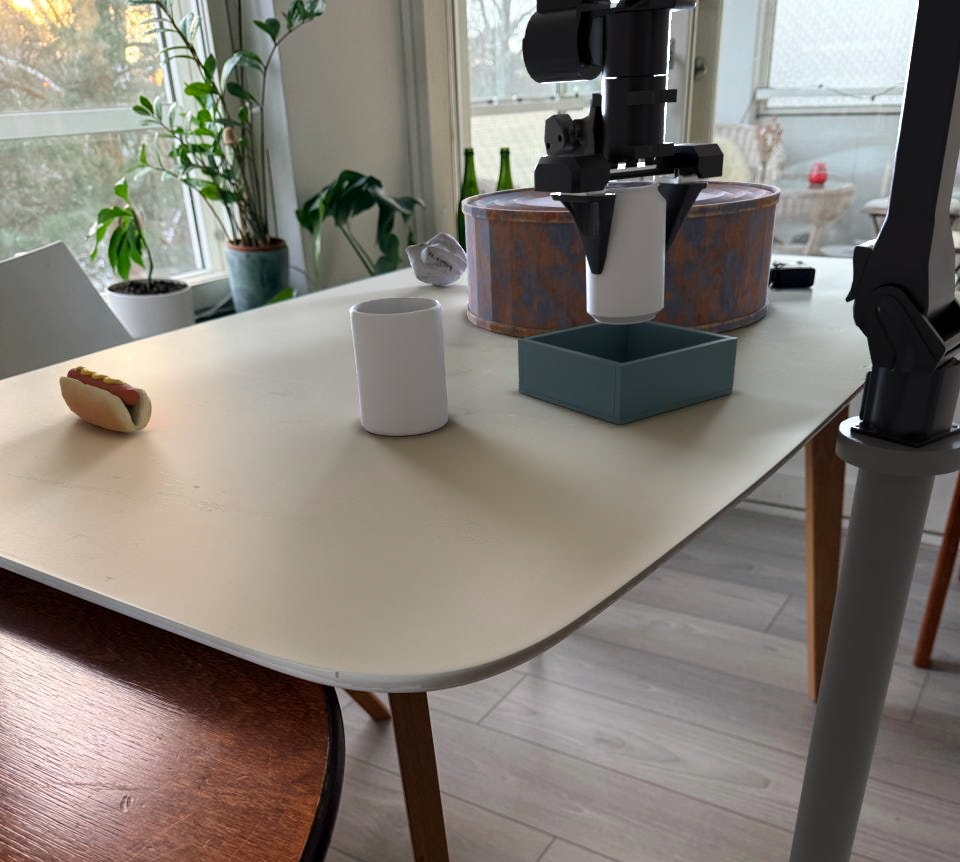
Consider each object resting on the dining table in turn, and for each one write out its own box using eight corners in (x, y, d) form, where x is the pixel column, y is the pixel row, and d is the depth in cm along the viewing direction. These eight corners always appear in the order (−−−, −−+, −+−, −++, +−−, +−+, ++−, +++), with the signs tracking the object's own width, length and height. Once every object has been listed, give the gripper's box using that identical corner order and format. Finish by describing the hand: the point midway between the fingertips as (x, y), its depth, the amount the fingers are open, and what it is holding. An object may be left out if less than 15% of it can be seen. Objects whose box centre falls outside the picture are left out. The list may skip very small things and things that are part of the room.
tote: (732, 393, 93) (738, 337, 90) (619, 425, 85) (621, 366, 83) (626, 365, 104) (628, 315, 101) (518, 392, 96) (517, 338, 94)
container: (631, 273, 157) (634, 176, 150) (835, 307, 126) (852, 187, 118) (414, 308, 138) (405, 200, 131) (589, 359, 107) (592, 220, 99)
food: (56, 416, 96) (43, 368, 93) (106, 404, 99) (94, 358, 97) (115, 443, 87) (102, 391, 85) (168, 428, 91) (157, 378, 88)
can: (645, 328, 85) (647, 186, 79) (573, 324, 89) (570, 189, 83) (675, 310, 91) (678, 176, 84) (606, 308, 94) (605, 179, 88)
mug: (431, 438, 84) (422, 315, 79) (347, 433, 87) (333, 313, 81) (471, 402, 94) (465, 290, 88) (394, 398, 96) (385, 289, 91)
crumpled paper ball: (399, 289, 154) (395, 238, 150) (413, 280, 161) (410, 231, 157) (463, 288, 152) (461, 236, 147) (474, 279, 159) (472, 229, 155)
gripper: (646, 79, 90) (639, 250, 97) (493, 85, 81) (499, 273, 88) (734, 73, 82) (719, 259, 89) (576, 79, 73) (574, 285, 80)
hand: (627, 268), depth 87 cm, fingers closed on can, 8 cm apart
